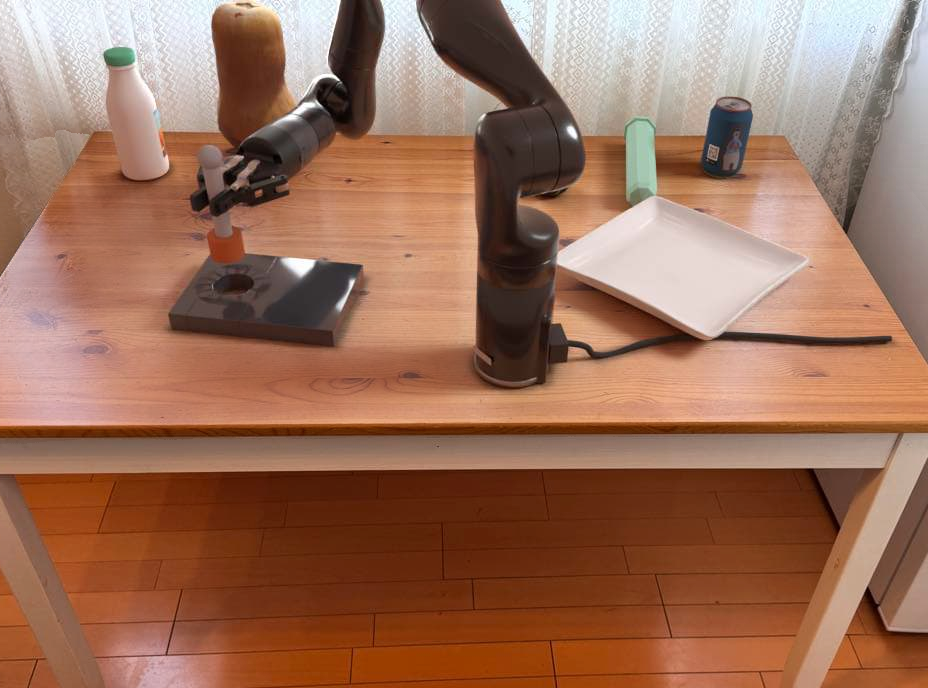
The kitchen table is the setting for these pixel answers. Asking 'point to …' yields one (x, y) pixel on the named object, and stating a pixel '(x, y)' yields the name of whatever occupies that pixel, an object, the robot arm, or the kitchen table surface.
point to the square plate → (680, 265)
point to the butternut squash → (249, 68)
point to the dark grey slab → (270, 299)
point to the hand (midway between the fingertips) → (203, 207)
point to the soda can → (726, 137)
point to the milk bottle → (133, 118)
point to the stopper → (223, 236)
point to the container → (640, 159)
